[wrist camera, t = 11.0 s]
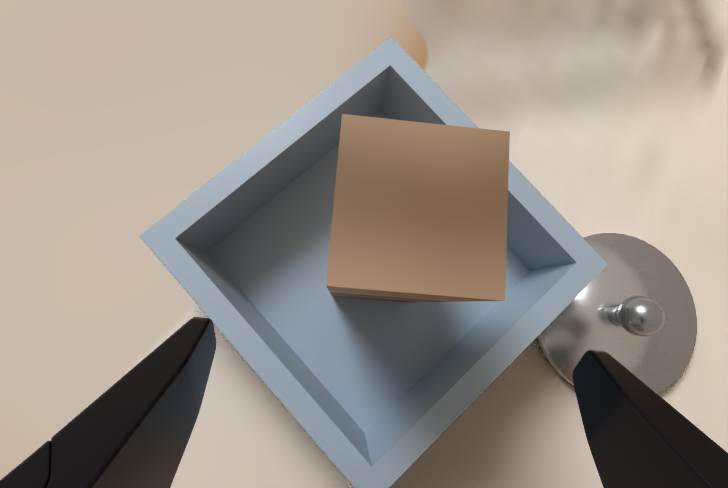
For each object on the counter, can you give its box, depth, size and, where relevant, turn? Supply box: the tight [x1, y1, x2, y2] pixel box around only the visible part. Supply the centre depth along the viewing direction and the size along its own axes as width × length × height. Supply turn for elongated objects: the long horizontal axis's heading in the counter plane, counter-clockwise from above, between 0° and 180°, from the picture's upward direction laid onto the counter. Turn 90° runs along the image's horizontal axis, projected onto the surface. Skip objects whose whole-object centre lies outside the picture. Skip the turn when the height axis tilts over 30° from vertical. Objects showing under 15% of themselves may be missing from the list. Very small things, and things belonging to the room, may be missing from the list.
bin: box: [140, 37, 608, 488], centre depth 19 cm, size 14×14×5 cm
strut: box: [326, 114, 510, 302], centre depth 15 cm, size 4×4×12 cm
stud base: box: [536, 233, 697, 394], centre depth 21 cm, size 9×9×3 cm
